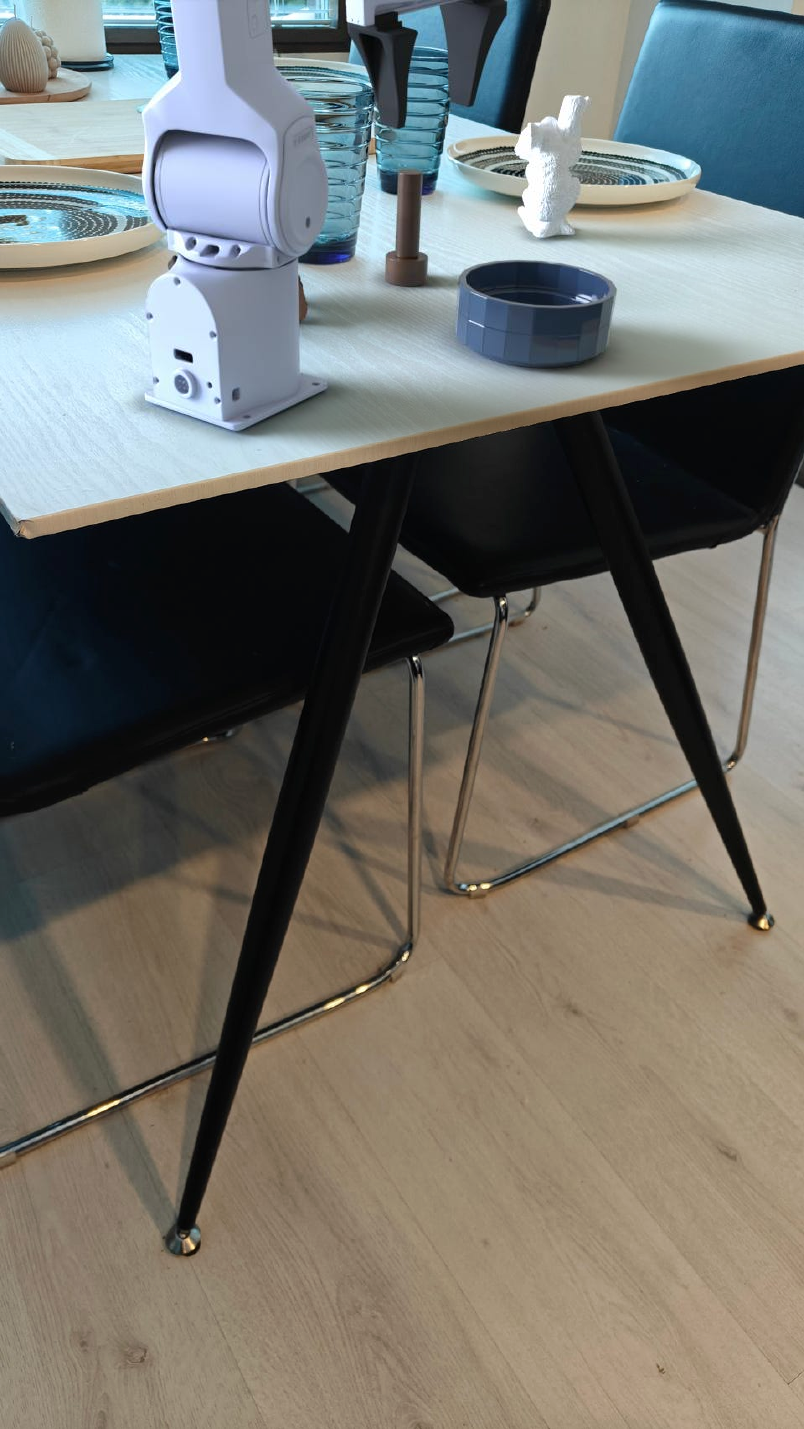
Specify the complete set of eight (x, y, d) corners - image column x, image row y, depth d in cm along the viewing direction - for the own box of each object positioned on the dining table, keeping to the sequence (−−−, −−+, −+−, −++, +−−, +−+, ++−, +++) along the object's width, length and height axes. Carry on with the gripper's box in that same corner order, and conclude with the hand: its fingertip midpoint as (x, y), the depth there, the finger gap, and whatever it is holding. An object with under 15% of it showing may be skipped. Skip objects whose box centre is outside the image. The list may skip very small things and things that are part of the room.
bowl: (562, 384, 76) (571, 319, 73) (425, 346, 81) (429, 284, 78) (631, 341, 83) (641, 280, 81) (502, 309, 88) (508, 251, 86)
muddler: (411, 289, 92) (416, 179, 86) (376, 280, 93) (379, 171, 88) (434, 279, 94) (441, 171, 89) (400, 271, 95) (404, 164, 90)
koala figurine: (554, 221, 111) (570, 87, 104) (601, 236, 107) (622, 98, 100) (492, 231, 107) (504, 92, 100) (539, 248, 103) (555, 104, 96)
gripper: (461, -117, 82) (457, 85, 92) (313, -92, 75) (325, 123, 85) (531, -106, 78) (519, 102, 88) (382, -79, 72) (386, 145, 81)
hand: (428, 114), depth 86 cm, fingers open, 7 cm apart
